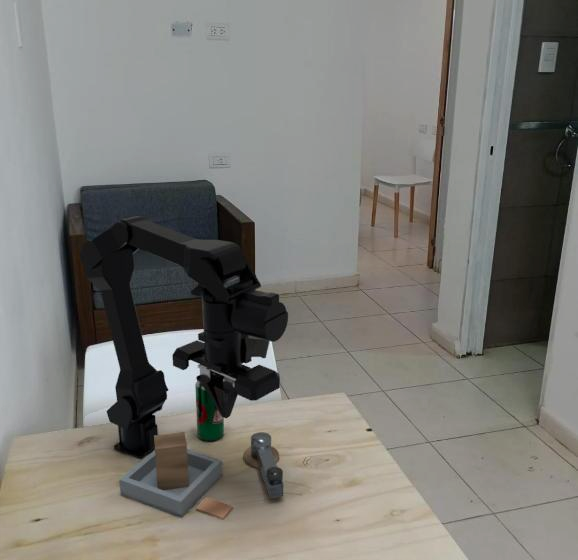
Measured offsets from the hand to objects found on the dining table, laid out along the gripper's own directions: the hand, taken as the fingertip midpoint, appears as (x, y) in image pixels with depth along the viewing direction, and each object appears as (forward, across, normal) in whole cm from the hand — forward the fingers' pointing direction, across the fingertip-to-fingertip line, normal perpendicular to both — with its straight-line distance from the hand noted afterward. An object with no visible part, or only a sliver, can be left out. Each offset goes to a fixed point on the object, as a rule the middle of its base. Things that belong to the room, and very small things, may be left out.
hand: (226, 416), depth 99 cm
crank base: (+14, 0, -3) cm, 14 cm away
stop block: (+13, +8, +6) cm, 16 cm away
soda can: (+14, +14, -9) cm, 21 cm away
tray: (+13, +8, +6) cm, 16 cm away
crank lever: (+13, -2, -7) cm, 15 cm away
